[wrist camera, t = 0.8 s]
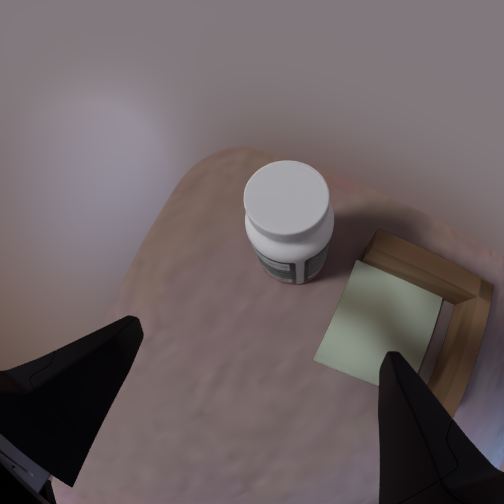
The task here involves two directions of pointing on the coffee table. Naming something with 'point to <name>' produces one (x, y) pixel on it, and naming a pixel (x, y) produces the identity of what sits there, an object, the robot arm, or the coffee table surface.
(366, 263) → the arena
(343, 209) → the coffee table surface
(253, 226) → the pill bottle
